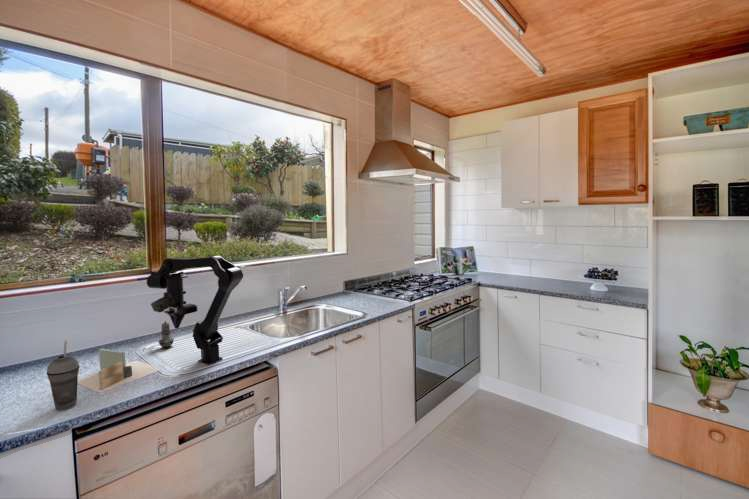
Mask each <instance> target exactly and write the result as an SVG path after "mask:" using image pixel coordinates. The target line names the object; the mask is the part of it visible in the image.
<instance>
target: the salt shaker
mask: <svg viewBox="0 0 749 499" xmlns="http://www.w3.org/2000/svg"><path fill="white" fill-rule="evenodd" d="M160 333H161V339H160V340H158V344H159V346H160V350H161V351H165V350H170V349H172V348H173V344H174V340H175V338H173V337H171V329H170V323H168V322H167V321H166V320H165V321H164V323H162V324H161V331H160Z"/></svg>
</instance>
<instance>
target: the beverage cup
mask: <svg viewBox="0 0 749 499" xmlns="http://www.w3.org/2000/svg"><path fill="white" fill-rule="evenodd" d="M63 343H64V344H63V355H60V356H56V357H54V359H52V360H51V361H50V362H49V364H48V366H47V369H46V373H45V374H46V376H47V378H48V381H49V384H50V389H51V394H52V399H53V405H54V407H55V411H57V412H63V411H64V412H65V411H68V410H70V409H73V408H74V407H76V406H77V402H78V383H77V381H78V377H79V376H78V375H79V372H80V371H79V370H80V364H79V362H78V359H76V358H75V357H74V356H72V355H67V346H68V345H67V340H65V341H64V342H63Z"/></svg>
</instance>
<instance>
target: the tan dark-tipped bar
mask: <svg viewBox="0 0 749 499" xmlns="http://www.w3.org/2000/svg"><path fill="white" fill-rule="evenodd" d="M123 371H124V377H131V376H132V366H126V367H124V368H123V363H122V362H119V363H116V364H114V365H111V366H109V367H107V368H104V369H102V370H100V369H99V371H98V373H99V382H100V389H103V388H106V387H108V386H110V385H112V384H114V383H116V382H118V381H120V380H122V379H123Z"/></svg>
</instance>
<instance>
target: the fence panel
mask: <svg viewBox="0 0 749 499" xmlns="http://www.w3.org/2000/svg"><path fill="white" fill-rule="evenodd" d="M98 352H99V367H100V368H99V371H100V370H102V369H104V368H107V367H109V366H111V365H114V364H116V363H119V362H122V363H123V368H124V367H126V366H125V364H126V354H125V351H121V350H113V349H106V348H100V349H98ZM123 375H124V371H123Z"/></svg>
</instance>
